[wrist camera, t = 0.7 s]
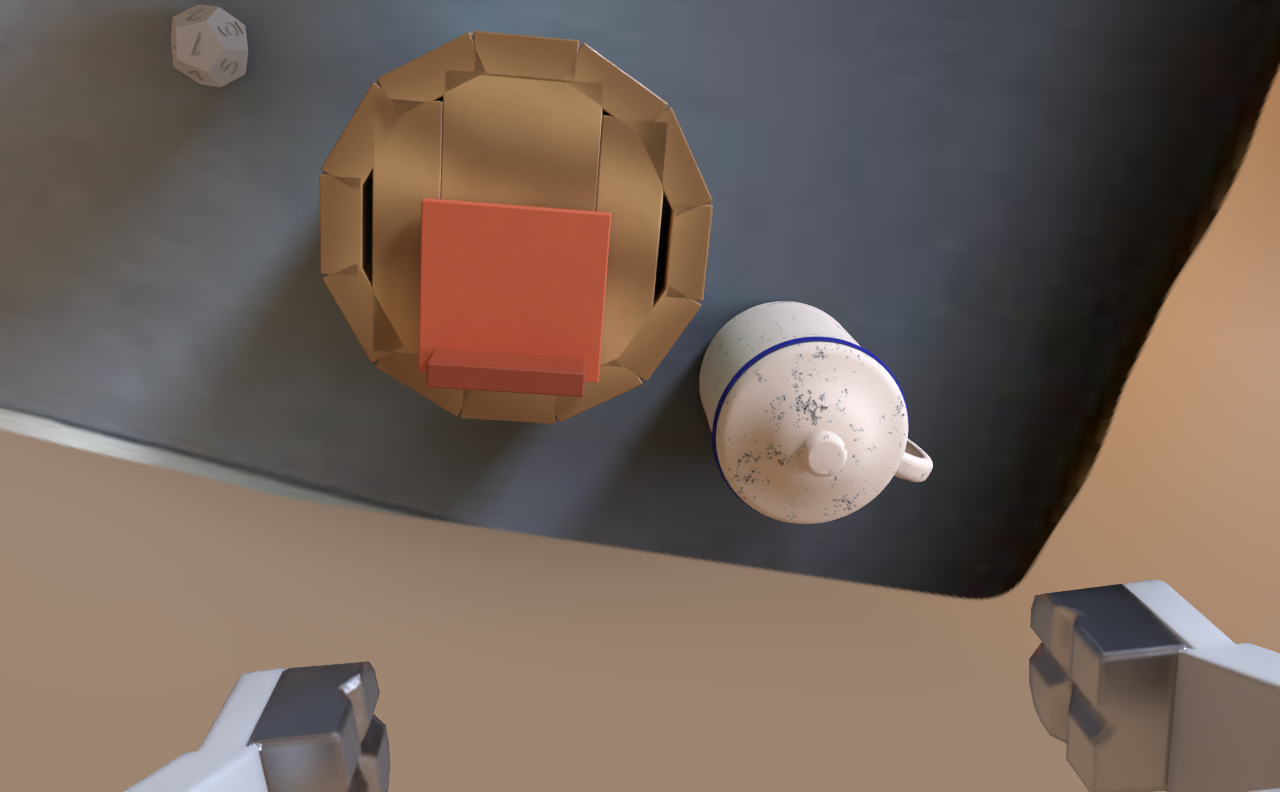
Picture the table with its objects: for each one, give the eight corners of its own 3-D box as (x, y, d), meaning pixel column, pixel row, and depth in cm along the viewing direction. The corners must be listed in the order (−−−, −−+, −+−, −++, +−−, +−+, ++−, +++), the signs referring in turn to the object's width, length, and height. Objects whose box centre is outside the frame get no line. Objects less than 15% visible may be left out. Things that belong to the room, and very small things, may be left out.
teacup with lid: (665, 417, 56) (685, 507, 45) (741, 266, 54) (782, 322, 43) (857, 500, 58) (920, 605, 47) (939, 359, 56) (1026, 434, 45)
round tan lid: (324, 17, 39) (317, 16, 38) (726, 53, 40) (729, 53, 39) (327, 401, 44) (321, 409, 43) (687, 424, 45) (689, 432, 44)
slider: (423, 197, 40) (413, 207, 37) (610, 212, 40) (612, 222, 38) (420, 367, 42) (410, 386, 40) (598, 379, 43) (599, 399, 40)
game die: (268, 24, 49) (249, 23, 46) (244, 99, 50) (224, 101, 47) (195, -9, 49) (171, -13, 46) (171, 67, 50) (146, 68, 47)
